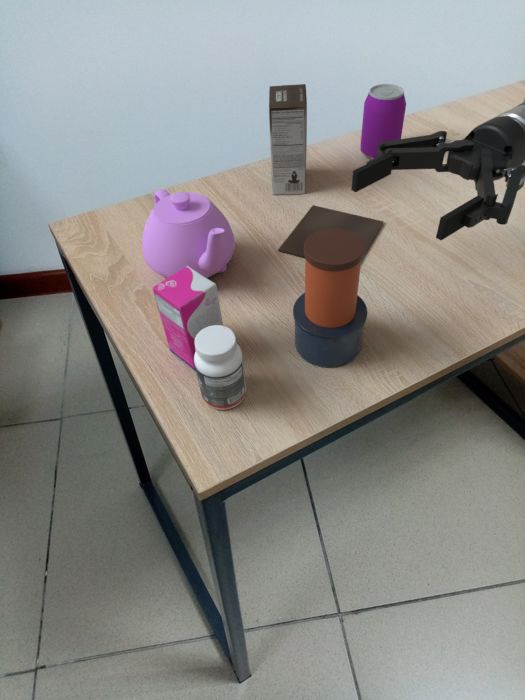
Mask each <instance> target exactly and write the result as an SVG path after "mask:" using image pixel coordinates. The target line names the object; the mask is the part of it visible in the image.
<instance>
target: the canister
mask: <svg viewBox="0 0 525 700" xmlns="http://www.w3.org/2000/svg"><path fill="white" fill-rule="evenodd" d="M363 255H364V243H363V241H362V239H361V238H360V237H359V236H358V235H356V234H354V233H352V232H350V231H347V230H343V229H335V228H332V229H323V230H320V231H317V232H315V233H313V234H311V235H310V236H309V237H308V238H307V239H306V241H305V243H304V256H305V258H304V259H305V261H304V262H305V263H304V264H305V265H304V293H305V314H306V316H307V318H308V319H309V320H310V321H311V322H313V323H314V324H316V325H318V326H321V327H326V328H336V327H341V326H344V325H346V324H347V323H349V322H350V321H351V320H352V319H353V318H354V316H355V312H356V303H357V295H358V293H359V284H360V277H361V275H360V274H361V266H362V260H363V258H364V256H365V255H364V256H363Z"/></svg>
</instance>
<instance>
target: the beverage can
mask: <svg viewBox="0 0 525 700" xmlns="http://www.w3.org/2000/svg"><path fill="white" fill-rule="evenodd" d="M406 107H407V101H406V96H405V90H404V88H402V86H399V85H396V84H392V83H382V84H376V85H373V86H372V87H371V88H369V91H368V93H367V96H366V98H365V100H364V103H363V111H362V112H363V113H362V125H361V135H360V152H361V153H362V154H363V155H364V156H365V157H366V158H367V159H369V160H371V159H374V158H376V157H377V151H378V144H379V143H380V142H385V141H391V140H398V139H402V135H403V129H404V122H405V116H406V115H405V114H406Z"/></svg>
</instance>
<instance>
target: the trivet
mask: <svg viewBox="0 0 525 700" xmlns="http://www.w3.org/2000/svg"><path fill="white" fill-rule="evenodd" d="M383 225H384V220H379V219H374V218H371V217H366V216H361V215H358V214H352V213H349V212H344V211H341V210H336V209H331V208H327V207H323V206H319V205H314V204H313V205H311V207H309V209H308V211H307V212H306V213H305V214H304V216H303V217H302V218H301V219H300V221H299V223H297V224H296V226H295V227H294V228H293V230H292V231H291V232H290V234H289V235H288V236H287V238H286V239H285V240H284V241H283V243H282V244H281V245H280V246H279V248H278V249H277V250H278V252H280V253H284V254H287V255H292V256H295V257H299V258H302V259H305V256H304V243H305V241H306V239H307V238H308V237H309V236H310V235H311V234H313V233H315V232H317V231H320V230H323V229H332V228H335V229H343V230H347V231H350V232H352V233H354V234H356V235H358V236H359V237H360V238H361V239H362V241H363V243H364V255H363V257H364V256H365V255H366V253H367V251H368V250H369V248H370V246H371V245H372V243H373V242H374V240H375V238H376V236H377V235H378V233H379V232H380V230H381V228H382V226H383Z"/></svg>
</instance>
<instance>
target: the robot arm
mask: <svg viewBox="0 0 525 700" xmlns="http://www.w3.org/2000/svg"><path fill="white" fill-rule="evenodd" d="M447 137H448V132H447V131H445V130H439V131H437V132H434V133H431V134H426V135H419V136H412V137H406V138H401V139H398V140H391V141H385V142H380V143H379V144H378V151H377V157H376V158H374V159H369V160H368V161H366V163H365V164H364V165H362V166H359V167H358V168H355V169H354V170H352V178H351V189H350V191H352V192H354V193H357V192H359V191H362V190H363V189H365V188H367V187H369V186H371V185H373V184H375V183H377V182H379V181H382V180H384V178H386V177H389V176H391V175H392V171H402V170H405V171H406V170H409V171H410V170H435V172H437V173H451V174H453V175H456V176H459V177H461V178H462V179H463V180H466V181H474V188H475V189H474V190H475V191H476V193H477V195H476V196H475V197H472V198H471V199H469V200H468V201H466V202H465V203H463V204H460V205H459V206H458V207H456V208H454V209H453V210H451V211H449V212H447V213H446V214H443V215H442V216H440V218H439V221H438V227H437V231H436V236H435V238H436V239H437V240H439V241H443V240H445V239H446V238H448V237H449V236H451V235H452V234H455V233H456V232H458V231H459V230H461V229H462V228H464V227H466V228H468V229H471V228H474V227H476V225H479V224H480V223H481V222H483V221H489V220H491V219H493V220H496V223H497V224H498V225H502V226H503V225H507V224H508V221H509V218H510V216H511V213H512V210H513V207H514V204H515V201H516V197H517V194H518V192H519V191H520V190H522V188H524V185H525V97H524V98H523V101H522V102H521V103H519V104H518V105H516V106H514V107H512V108H509V109H508V110H506V111H504V112H502V113H500V114H498V115H496V116H494V117H493V118H490V119H488V120H487V121H484V122H482V123H481V124H479V125H477V126H475V127H474V128H473V129H471V131H470V132H469V133H468V134H467V135H466V136H465V137H464V138H463V139H459V140H458V139H457V140H454V141H452V140H450V139H448V138H447ZM446 153H447V156H446V157H447V158H446V163H444V159H445V154H446ZM503 178H505V179H504V182H505V187H506V189H505V192H504V195H503V198H502V201H501V202H499V201H497V200H498V196H499V193H496V188H495V187H496V186H495V181H498V180H501V179H503Z"/></svg>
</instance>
